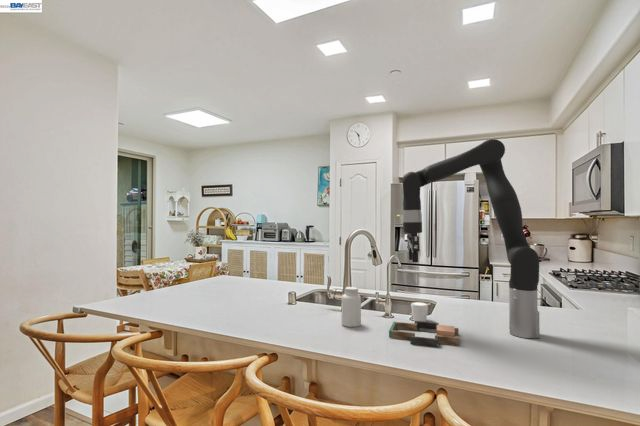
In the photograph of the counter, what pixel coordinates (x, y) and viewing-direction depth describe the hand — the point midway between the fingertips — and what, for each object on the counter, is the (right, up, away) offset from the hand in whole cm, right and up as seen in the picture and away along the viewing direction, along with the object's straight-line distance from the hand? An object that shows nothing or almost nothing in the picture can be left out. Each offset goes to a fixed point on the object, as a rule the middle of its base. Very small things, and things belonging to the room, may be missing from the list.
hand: (413, 261), depth 140 cm
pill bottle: (-25, -27, +1) cm, 37 cm away
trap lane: (0, -26, -13) cm, 29 cm away
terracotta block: (+8, -26, -15) cm, 31 cm away
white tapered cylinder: (+5, -27, +7) cm, 28 cm away
